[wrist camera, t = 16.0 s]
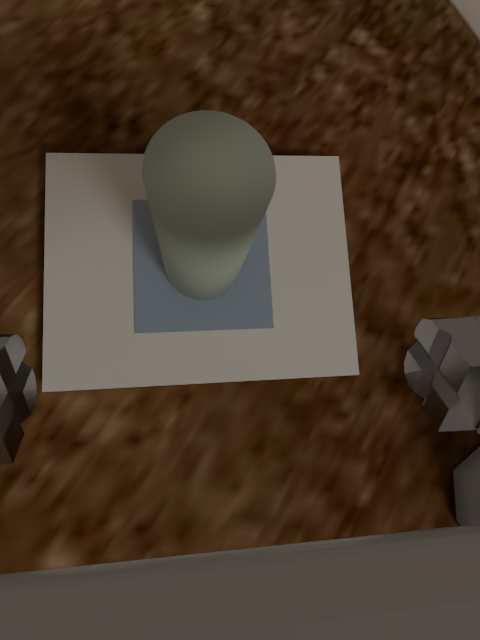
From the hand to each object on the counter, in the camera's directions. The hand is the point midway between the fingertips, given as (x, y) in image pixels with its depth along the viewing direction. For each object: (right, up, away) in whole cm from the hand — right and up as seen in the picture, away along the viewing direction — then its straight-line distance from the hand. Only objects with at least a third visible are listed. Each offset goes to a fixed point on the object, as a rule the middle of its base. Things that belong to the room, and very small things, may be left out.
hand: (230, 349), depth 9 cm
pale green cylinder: (-2, +4, +16) cm, 16 cm away
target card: (-2, +4, +17) cm, 17 cm away
